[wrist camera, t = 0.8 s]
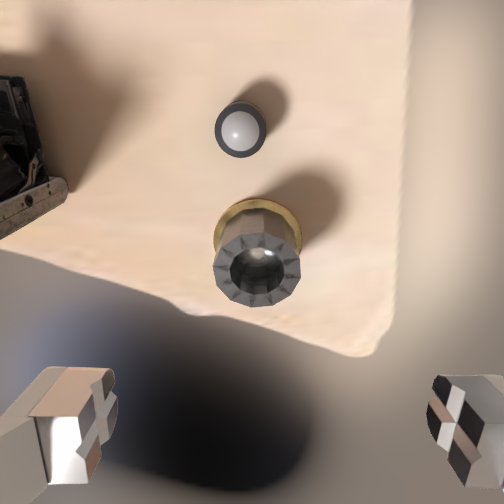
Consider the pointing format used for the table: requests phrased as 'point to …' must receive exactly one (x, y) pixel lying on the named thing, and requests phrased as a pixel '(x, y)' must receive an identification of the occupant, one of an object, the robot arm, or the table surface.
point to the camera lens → (240, 129)
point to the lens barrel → (257, 253)
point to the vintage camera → (23, 162)
